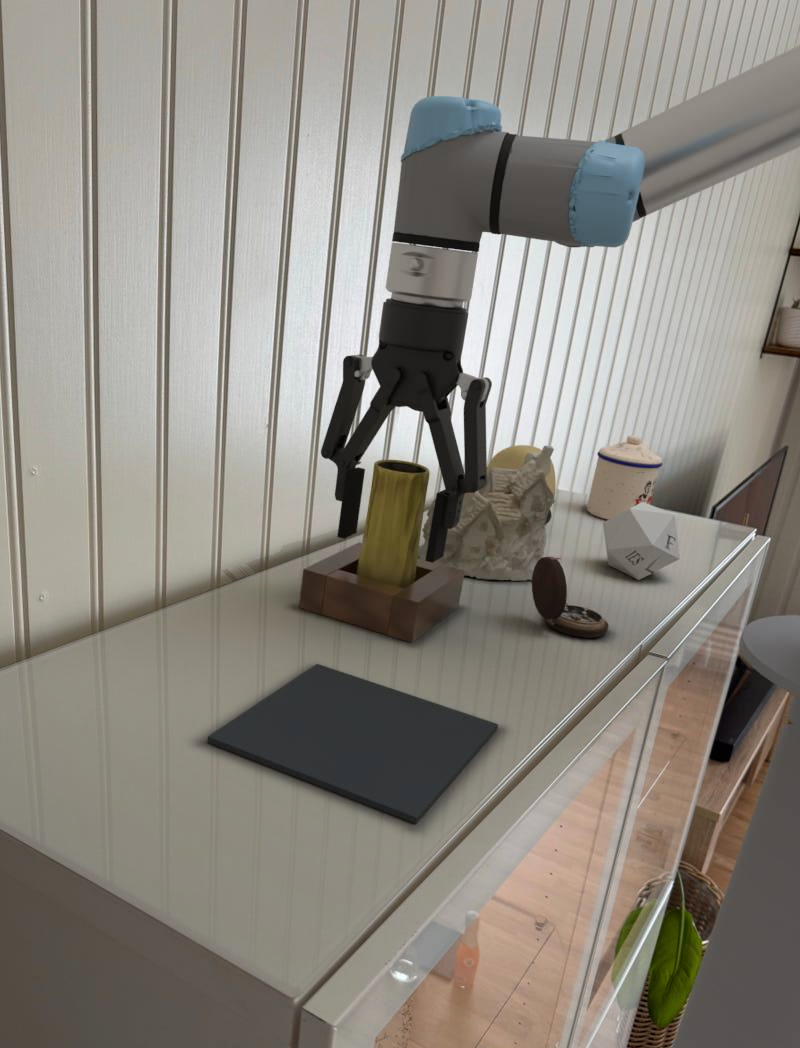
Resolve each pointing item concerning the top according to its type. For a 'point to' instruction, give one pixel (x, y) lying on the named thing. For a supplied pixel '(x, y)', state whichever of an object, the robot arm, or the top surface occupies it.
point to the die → (641, 540)
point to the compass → (562, 602)
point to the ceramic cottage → (501, 523)
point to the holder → (380, 595)
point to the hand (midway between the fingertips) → (389, 546)
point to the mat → (358, 740)
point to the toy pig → (520, 464)
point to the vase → (394, 522)
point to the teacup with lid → (623, 478)
